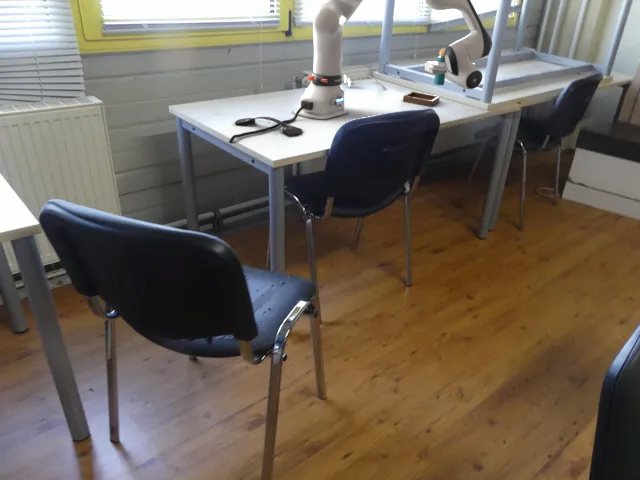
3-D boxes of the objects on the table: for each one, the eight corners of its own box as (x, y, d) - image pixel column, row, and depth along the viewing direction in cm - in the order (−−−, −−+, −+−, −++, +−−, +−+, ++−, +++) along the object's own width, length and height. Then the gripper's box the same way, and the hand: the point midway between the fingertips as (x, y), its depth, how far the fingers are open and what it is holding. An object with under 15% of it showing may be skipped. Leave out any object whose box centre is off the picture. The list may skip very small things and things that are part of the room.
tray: (431, 106, 240) (432, 101, 239) (402, 101, 244) (403, 95, 243) (439, 101, 249) (439, 96, 248) (411, 96, 253) (412, 91, 252)
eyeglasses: (342, 81, 269) (343, 73, 267) (377, 82, 273) (378, 74, 271) (349, 89, 256) (350, 80, 254) (386, 90, 261) (387, 81, 259)
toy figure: (442, 85, 233) (447, 49, 226) (432, 84, 234) (437, 48, 227) (445, 84, 236) (450, 48, 229) (435, 82, 238) (440, 47, 230)
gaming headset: (293, 137, 186) (293, 128, 184) (231, 124, 193) (230, 114, 192) (305, 131, 193) (306, 122, 192) (245, 118, 201) (245, 109, 199)
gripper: (431, 78, 219) (417, 71, 230) (476, 79, 226) (460, 72, 237) (433, 62, 216) (419, 55, 227) (479, 63, 222) (463, 57, 234)
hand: (441, 64), depth 232 cm, fingers closed on toy figure, 4 cm apart
